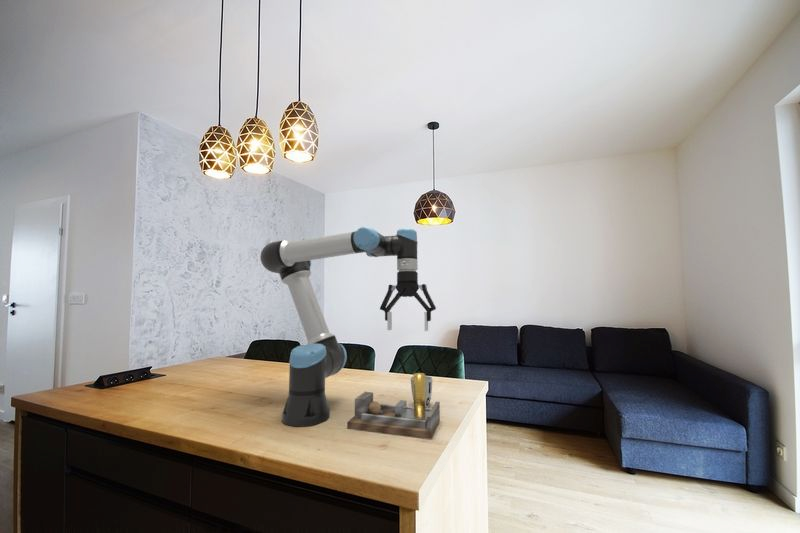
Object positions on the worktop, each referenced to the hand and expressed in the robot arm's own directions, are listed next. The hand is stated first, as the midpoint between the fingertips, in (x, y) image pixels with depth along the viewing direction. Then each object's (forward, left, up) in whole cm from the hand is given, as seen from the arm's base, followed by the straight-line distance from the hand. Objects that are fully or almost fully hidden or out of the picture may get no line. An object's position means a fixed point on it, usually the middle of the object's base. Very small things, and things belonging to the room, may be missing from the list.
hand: (407, 330), depth 113 cm
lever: (+5, -12, -26) cm, 29 cm away
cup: (+3, +8, -28) cm, 30 cm away
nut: (-8, -12, -26) cm, 29 cm away
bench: (-1, -12, -28) cm, 30 cm away
